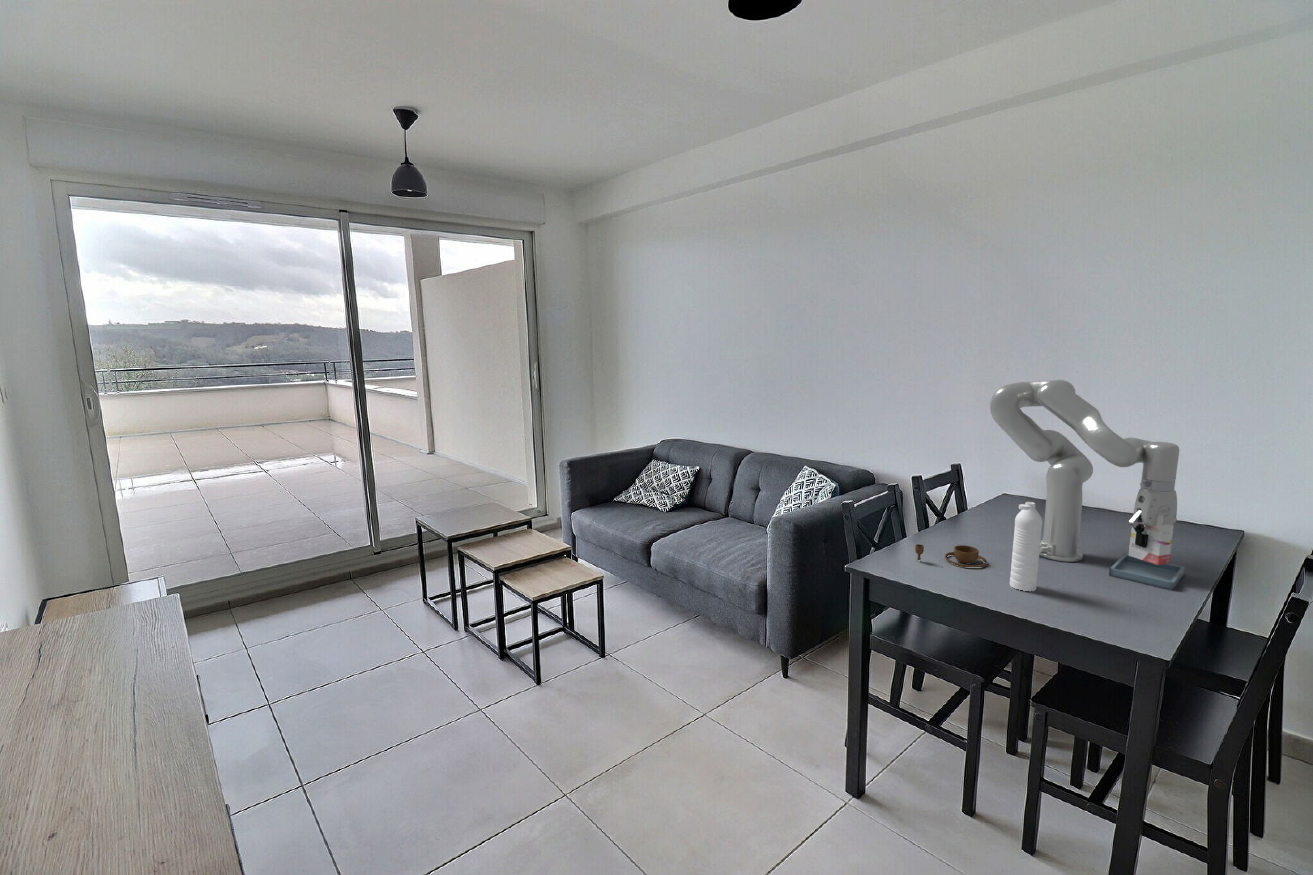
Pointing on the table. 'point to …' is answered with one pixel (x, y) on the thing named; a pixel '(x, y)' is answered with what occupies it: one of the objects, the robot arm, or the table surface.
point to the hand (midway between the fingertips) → (1149, 544)
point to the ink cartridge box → (1154, 543)
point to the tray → (1147, 572)
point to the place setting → (958, 555)
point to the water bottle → (1026, 548)
